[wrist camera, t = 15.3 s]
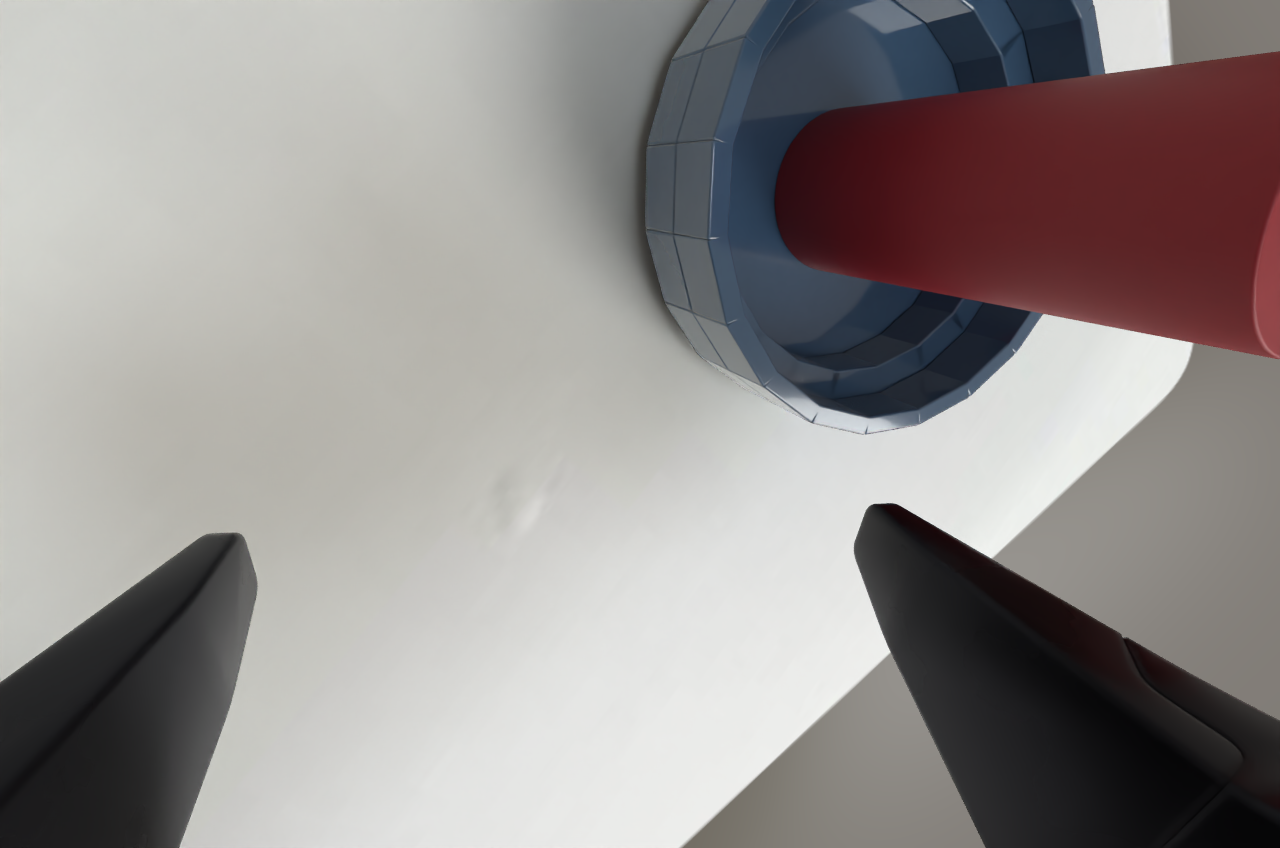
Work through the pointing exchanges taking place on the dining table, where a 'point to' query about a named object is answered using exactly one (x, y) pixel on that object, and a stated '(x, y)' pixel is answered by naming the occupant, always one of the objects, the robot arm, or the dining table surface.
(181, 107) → the dining table surface
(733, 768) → the dining table surface
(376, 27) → the dining table surface
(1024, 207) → the candle
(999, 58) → the bowl
